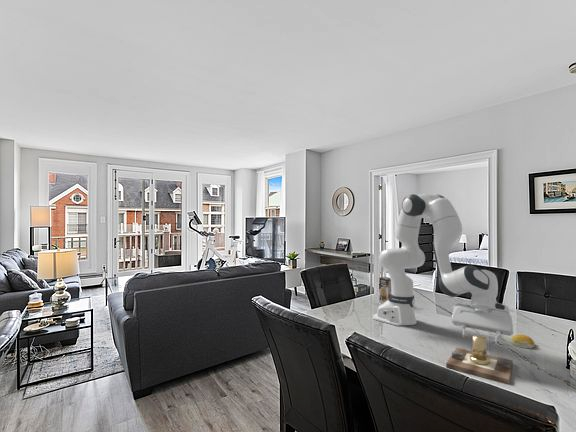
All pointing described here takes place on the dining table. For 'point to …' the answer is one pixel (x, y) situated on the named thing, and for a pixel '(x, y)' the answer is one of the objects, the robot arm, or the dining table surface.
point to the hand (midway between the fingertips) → (479, 339)
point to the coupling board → (481, 366)
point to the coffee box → (384, 288)
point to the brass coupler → (479, 350)
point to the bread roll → (522, 341)
